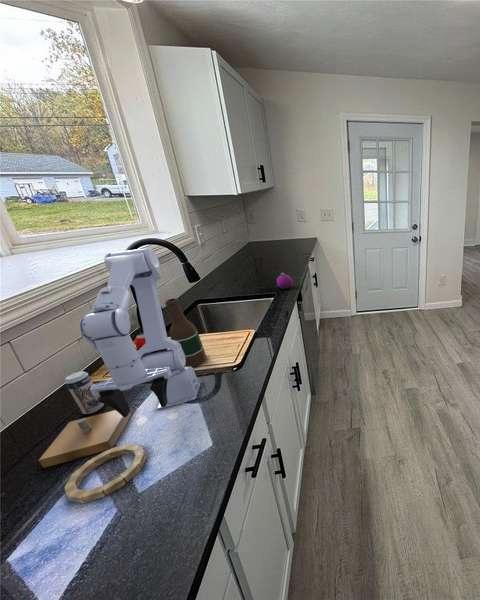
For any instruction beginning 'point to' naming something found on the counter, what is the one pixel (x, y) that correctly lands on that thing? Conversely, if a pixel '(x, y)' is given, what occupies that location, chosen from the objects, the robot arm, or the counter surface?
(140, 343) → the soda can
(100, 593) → the counter surface
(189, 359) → the beer bottle
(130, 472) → the hoop
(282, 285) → the christmas ornament
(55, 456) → the stand
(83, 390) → the small jar
